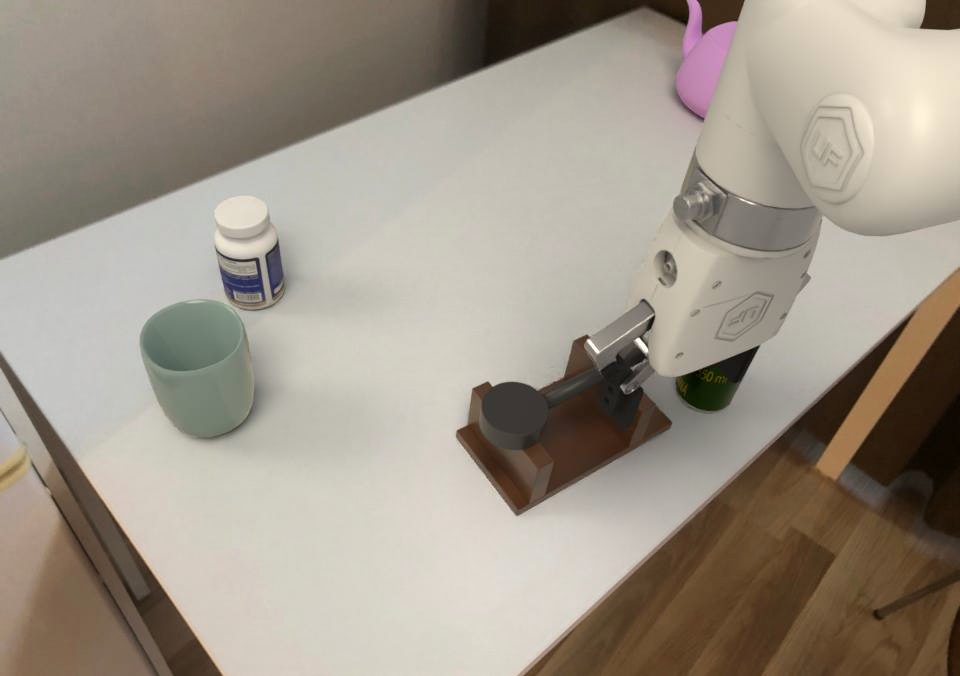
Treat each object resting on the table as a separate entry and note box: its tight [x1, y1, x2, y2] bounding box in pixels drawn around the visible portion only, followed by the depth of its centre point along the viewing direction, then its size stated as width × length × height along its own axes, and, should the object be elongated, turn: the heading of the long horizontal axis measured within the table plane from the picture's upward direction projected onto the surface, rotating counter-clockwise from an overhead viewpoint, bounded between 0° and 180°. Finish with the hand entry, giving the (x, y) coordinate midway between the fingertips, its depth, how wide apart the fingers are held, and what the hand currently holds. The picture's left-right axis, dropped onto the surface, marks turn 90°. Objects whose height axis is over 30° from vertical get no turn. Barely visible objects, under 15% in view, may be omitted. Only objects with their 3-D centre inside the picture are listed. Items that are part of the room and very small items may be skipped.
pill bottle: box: [213, 195, 286, 311], centre depth 74 cm, size 6×6×10 cm
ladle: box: [479, 346, 646, 450], centre depth 65 cm, size 5×20×2 cm, turn 124°
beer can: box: [674, 345, 761, 414], centre depth 70 cm, size 5×5×12 cm
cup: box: [138, 298, 255, 439], centre depth 64 cm, size 8×8×10 cm
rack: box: [455, 333, 673, 517], centre depth 67 cm, size 9×17×6 cm, turn 124°
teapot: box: [675, 0, 738, 119], centre depth 106 cm, size 20×13×12 cm, turn 38°
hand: (670, 389), depth 56 cm, fingers open, 9 cm apart
